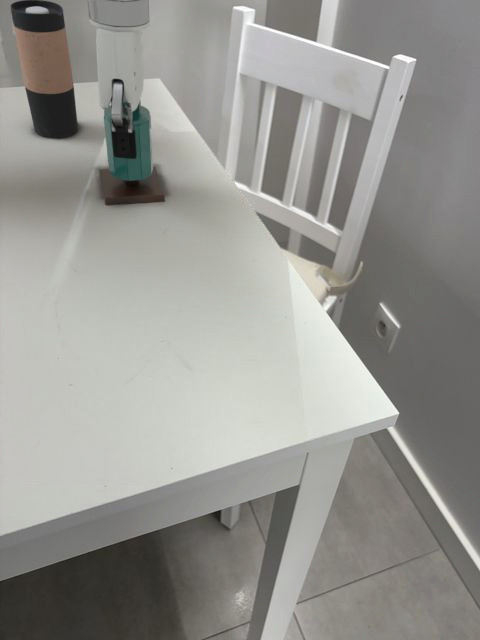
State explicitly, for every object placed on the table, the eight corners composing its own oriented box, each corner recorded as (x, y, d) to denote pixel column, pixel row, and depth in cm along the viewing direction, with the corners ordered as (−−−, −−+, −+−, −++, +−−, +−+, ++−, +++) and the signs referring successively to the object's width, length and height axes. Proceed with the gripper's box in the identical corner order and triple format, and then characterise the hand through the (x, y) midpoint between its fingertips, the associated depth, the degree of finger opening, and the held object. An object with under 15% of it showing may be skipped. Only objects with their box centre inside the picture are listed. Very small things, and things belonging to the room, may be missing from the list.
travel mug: (27, 131, 97) (0, 1, 83) (68, 123, 101) (49, -3, 86) (46, 149, 93) (22, 16, 79) (88, 140, 97) (72, 11, 83)
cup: (106, 179, 82) (100, 119, 76) (113, 158, 87) (108, 100, 80) (149, 182, 83) (147, 123, 76) (154, 162, 87) (152, 104, 81)
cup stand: (105, 205, 83) (99, 156, 77) (99, 175, 89) (94, 128, 83) (164, 201, 85) (163, 154, 80) (155, 173, 91) (153, 127, 86)
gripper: (100, -11, 75) (112, 119, 88) (74, 27, 63) (92, 171, 76) (156, -5, 76) (160, 123, 88) (140, 33, 64) (147, 176, 76)
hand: (128, 144), depth 82 cm, fingers closed on cup, 6 cm apart
